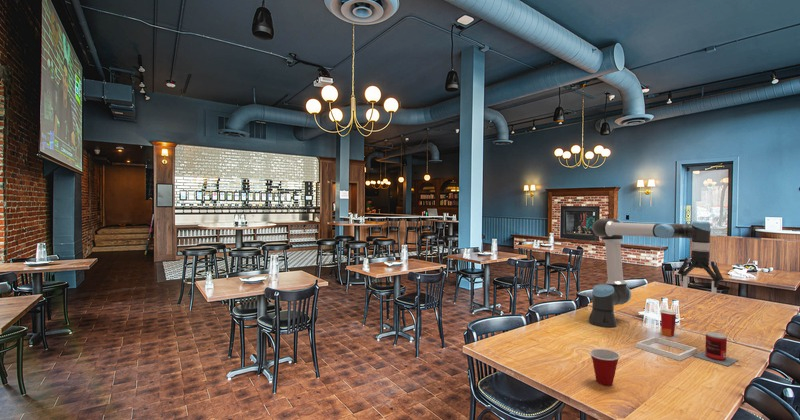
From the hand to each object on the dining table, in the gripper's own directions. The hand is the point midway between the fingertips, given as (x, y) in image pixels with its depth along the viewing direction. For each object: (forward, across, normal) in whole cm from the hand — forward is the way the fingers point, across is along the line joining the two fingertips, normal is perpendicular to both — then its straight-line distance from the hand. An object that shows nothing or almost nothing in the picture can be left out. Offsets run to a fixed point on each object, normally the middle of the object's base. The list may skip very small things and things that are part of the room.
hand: (699, 290), depth 198 cm
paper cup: (+29, +15, 0) cm, 32 cm away
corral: (+28, 0, +25) cm, 38 cm away
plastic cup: (+29, -15, +87) cm, 93 cm away
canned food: (+28, -16, +14) cm, 35 cm away
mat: (+28, -16, +14) cm, 35 cm away
